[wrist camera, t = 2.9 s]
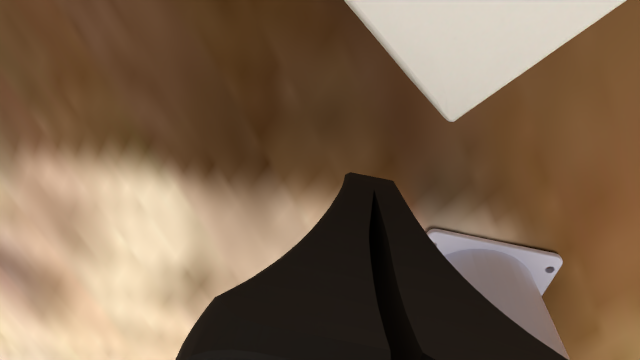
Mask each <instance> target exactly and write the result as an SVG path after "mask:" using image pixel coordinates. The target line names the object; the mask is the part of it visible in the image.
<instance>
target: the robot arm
mask: <svg viewBox="0 0 640 360" xmlns="http://www.w3.org/2000/svg"><path fill="white" fill-rule="evenodd" d="M433 242H435V244H434V243H433ZM562 263H563V261H562V258H561V257H560V256H559V254H556V253H552V252H547V251H542V250H537V249H532V248H527V247H523V246H518V245H513V244H508V243H503V242H498V241H493V240H489V239H484V238H479V237H474V236H469V235H464V234H459V233H455V232H450V231H445V230H440V229H431V230H429V231H428V232H427V233H426V232H425V231H424V230H423V228H422V227H421V225H420V224H419V222H418V221H417V219H416V218H415V216H414V215H413V213H412V212H411V210H410V208H409V207H408V205H407V203H406V202H405V200H404V198H403V197H402V195H401V193H400V192H399V190H398V188H397V187H396V185H395V183H394V182H393V181H391V180H386V179H381V178H376V177H371V176H366V175H361V174H356V173H351V172H350V173H348V174H346V175H345V178H344V182H343V186H342V188H341V190H340V192H339V194H338V195H337V197H336V198H335V200H334V201H333V203H332V205H331V206H330V208H329V209H328V210H327V212H326V213H325V214H324V215H323V217H322V218H321V219H320V220H319V222H318V223H317V224H316V225H315V226H314V227H313V229H312V230H311V231H310V232H309V233H308V234H307V235H306V236H305V237H304V238H303V239H302V240H301V241H300V242H299V243H298V244H297V245H295V246H294V247H293V248H292V249H291V250H290V251H288V252H287V253H286V254H285V255H284V256H282V257H281V258H280V259H279V260H277V261H276V262H275V263H273V264H272V265H270V266H269V267H267V268H266V269H264V270H263V271H261V272H260V273H258V274H257V275H255V276H254V277H252V278H250V279H249V280H247V281H245V282H244V283H242V284H240V285H238V286H236V287H234V288H232V289H230V290H228V291H227V292H225V293H223V294H221V295H219V296H217V297H215V298H214V299H213V301H212V302H211V303H210V304H209V306H208V307H207V308H206V309H205V311H204V312H203V313H202V315H201V316H200V318H199V319H198V320H197V322H196V323H195V325H194V326H193V328H192V329H191V331H190V333H189V334H188V336H187V338H186V339H185V341H184V343H183V345H182V347H181V349H180V351H179V353H178V355H177V358H176V360H570V359H569V357H568V354H567V352H566V350H565V348H564V346H563V343H562V341H561V339H560V337H559V335H558V332H557V330H556V328H555V326H554V323H553V321H552V319H551V317H550V315H549V312H548V310H547V308H546V306H545V303H544V301H543V299H542V297H541V296H542V295H543V293H544V292H545V290H546V289H547V287H548V286H549V284H550V282H551V281H552V279H553V278H554V276H555V275H556V273H557V272H558V270H559V269H560V267H561V266H562ZM547 267H550V268H548V269H546V268H547Z"/></svg>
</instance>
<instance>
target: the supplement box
mask: <svg viewBox="0 0 640 360" xmlns="http://www.w3.org/2000/svg"><path fill="white" fill-rule="evenodd" d="M344 1H345V2H346V3H347V5H348V6H349V7H350V8H351V9H352V10H353V12H354V13H355V14H356V15H357V16H358V17H359V19H360V20H361V21H362V22H363V23H364V25H365V26H366V27H367V28H368V29H369V31H370V32H371V33H372V34H373V35H374V37H375V38H376V39H377V40H378V41H379V42H380V44H381V45H382V46H383V47H384V48H385V50H386V51H387V52H388V53H389V54H390V56H391V57H392V58H393V59H394V60H395V62H396V63H397V64H398V65H399V66H400V68H401V69H402V70H403V71H404V72H405V74H406V75H407V76H408V77H409V78H410V79H411V81H412V82H413V83H414V84H415V85H416V86H417V87H418V89H419V90H420V91H421V92H422V93H423V94H424V95H425V97H426V98H427V99H428V100H429V101H430V102H431V103H432V104H433V106H434V107H435V108H436V109H437V110H438V111H439V112H440V114H441V115H442V116H443V117H444V118H445V119H446V120H447V121H449V122H454V121H456V120H457V119H458V118H459V117H461V116H462V115H463V114H465V113H466V112H468V111H469V110H470V109H472V108H473V107H475V106H476V105H478V104H479V103H481V102H482V101H483V100H485V99H486V98H488V97H489V96H491V95H492V94H493V93H495V92H496V91H498V90H499V89H501V88H502V87H503V86H505V85H506V84H508V83H509V82H511V81H512V80H513V79H515V78H516V77H518V76H519V75H521V74H522V73H523V72H525V71H526V70H528V69H529V68H530V67H532V66H533V65H535V64H536V63H538V62H539V61H540V60H542V59H543V58H545V57H546V56H547V55H549V54H550V53H552V52H553V51H555V50H556V49H557V48H559V47H560V46H562V45H563V44H565V43H566V42H567V41H569V40H570V39H572V38H573V37H575V36H576V35H577V34H579V33H580V32H582V31H583V30H585V29H586V28H587V27H589V26H590V25H592V24H593V23H595V22H596V21H597V20H599V19H600V18H602V17H603V16H604V15H606V14H607V13H609V12H610V11H612V10H613V9H615V8H616V7H618V6H619V5H621V4H622V3H624V2H625V1H627V0H344Z"/></svg>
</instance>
